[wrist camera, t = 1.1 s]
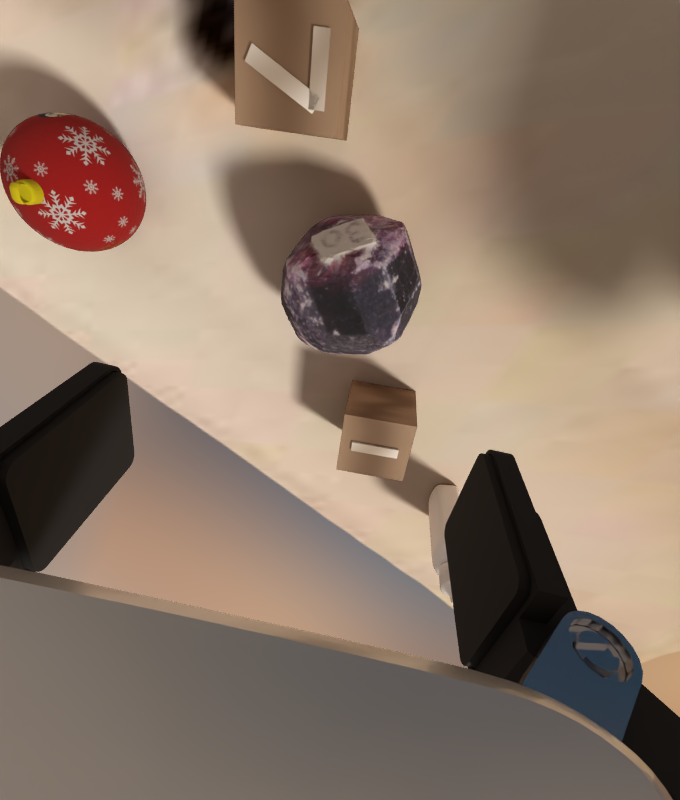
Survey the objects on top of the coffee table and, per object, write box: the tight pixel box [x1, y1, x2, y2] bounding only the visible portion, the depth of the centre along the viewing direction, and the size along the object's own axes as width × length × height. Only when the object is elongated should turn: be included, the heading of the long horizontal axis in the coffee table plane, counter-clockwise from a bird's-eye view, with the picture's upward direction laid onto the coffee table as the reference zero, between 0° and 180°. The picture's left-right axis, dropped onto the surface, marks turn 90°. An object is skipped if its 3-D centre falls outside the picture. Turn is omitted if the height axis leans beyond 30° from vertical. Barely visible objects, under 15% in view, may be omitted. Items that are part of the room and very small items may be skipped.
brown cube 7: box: [234, 0, 359, 140], centre depth 25 cm, size 6×6×6 cm
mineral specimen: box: [281, 215, 421, 354], centre depth 30 cm, size 10×10×10 cm
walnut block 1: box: [337, 381, 417, 481], centre depth 38 cm, size 6×6×6 cm
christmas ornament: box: [0, 113, 146, 252], centre depth 29 cm, size 9×9×10 cm
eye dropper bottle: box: [428, 485, 460, 605], centre depth 40 cm, size 4×6×12 cm
